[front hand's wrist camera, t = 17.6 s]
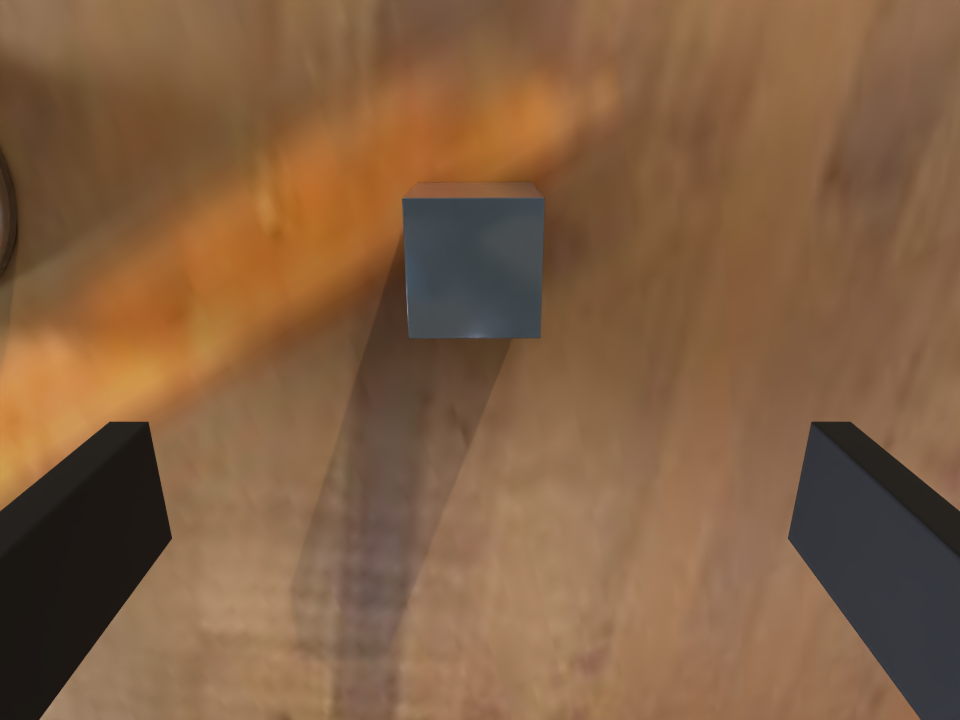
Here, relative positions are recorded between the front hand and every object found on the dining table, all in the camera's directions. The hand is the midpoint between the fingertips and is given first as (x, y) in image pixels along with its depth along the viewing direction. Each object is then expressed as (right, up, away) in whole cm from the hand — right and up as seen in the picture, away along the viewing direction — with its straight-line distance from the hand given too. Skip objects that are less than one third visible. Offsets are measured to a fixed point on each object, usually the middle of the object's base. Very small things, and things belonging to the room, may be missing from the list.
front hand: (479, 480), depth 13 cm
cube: (0, +9, +24) cm, 26 cm away
